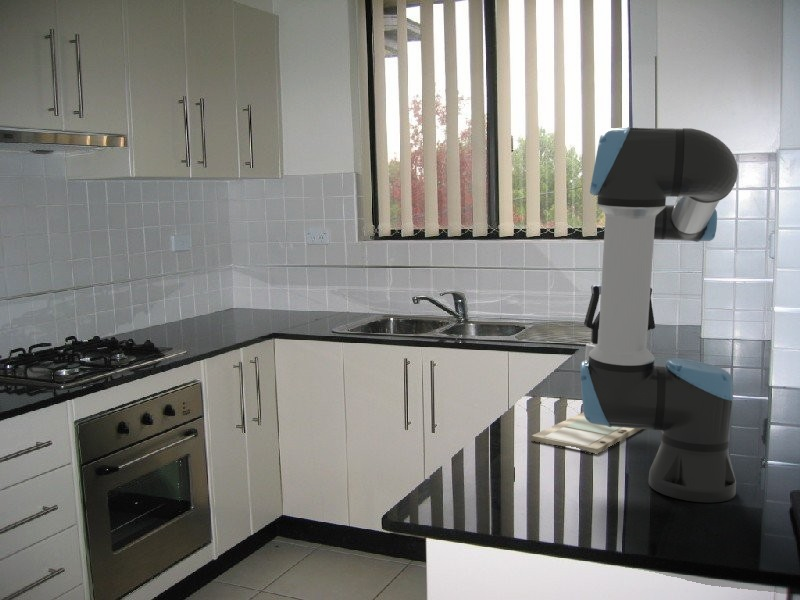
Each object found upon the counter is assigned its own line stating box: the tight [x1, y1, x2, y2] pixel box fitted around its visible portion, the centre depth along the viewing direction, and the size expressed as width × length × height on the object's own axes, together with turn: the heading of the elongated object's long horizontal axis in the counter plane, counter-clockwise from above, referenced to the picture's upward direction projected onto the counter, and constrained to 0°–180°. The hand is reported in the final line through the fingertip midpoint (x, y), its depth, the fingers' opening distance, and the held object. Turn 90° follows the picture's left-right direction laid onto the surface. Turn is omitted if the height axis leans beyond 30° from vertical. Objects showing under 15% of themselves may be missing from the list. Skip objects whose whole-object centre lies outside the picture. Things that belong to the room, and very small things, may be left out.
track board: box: [531, 411, 642, 455], centre depth 192 cm, size 35×15×1 cm, turn 144°
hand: (617, 357), depth 198 cm, fingers closed on game die, 9 cm apart
